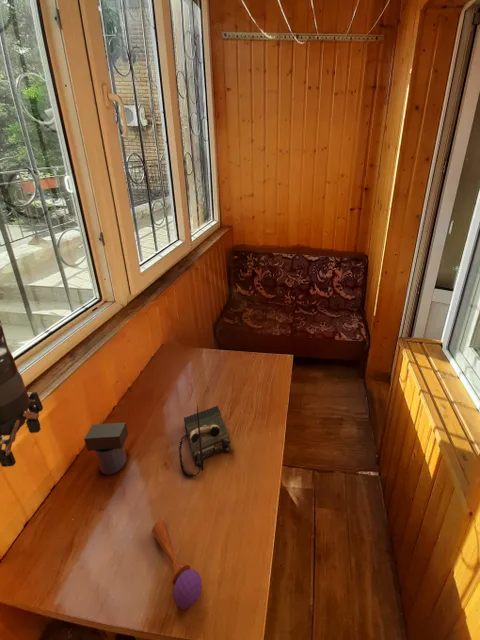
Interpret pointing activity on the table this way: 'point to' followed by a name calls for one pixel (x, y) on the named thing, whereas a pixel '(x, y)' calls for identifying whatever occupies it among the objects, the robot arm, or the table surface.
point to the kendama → (179, 571)
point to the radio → (205, 436)
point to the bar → (106, 436)
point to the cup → (111, 460)
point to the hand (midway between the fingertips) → (23, 447)
